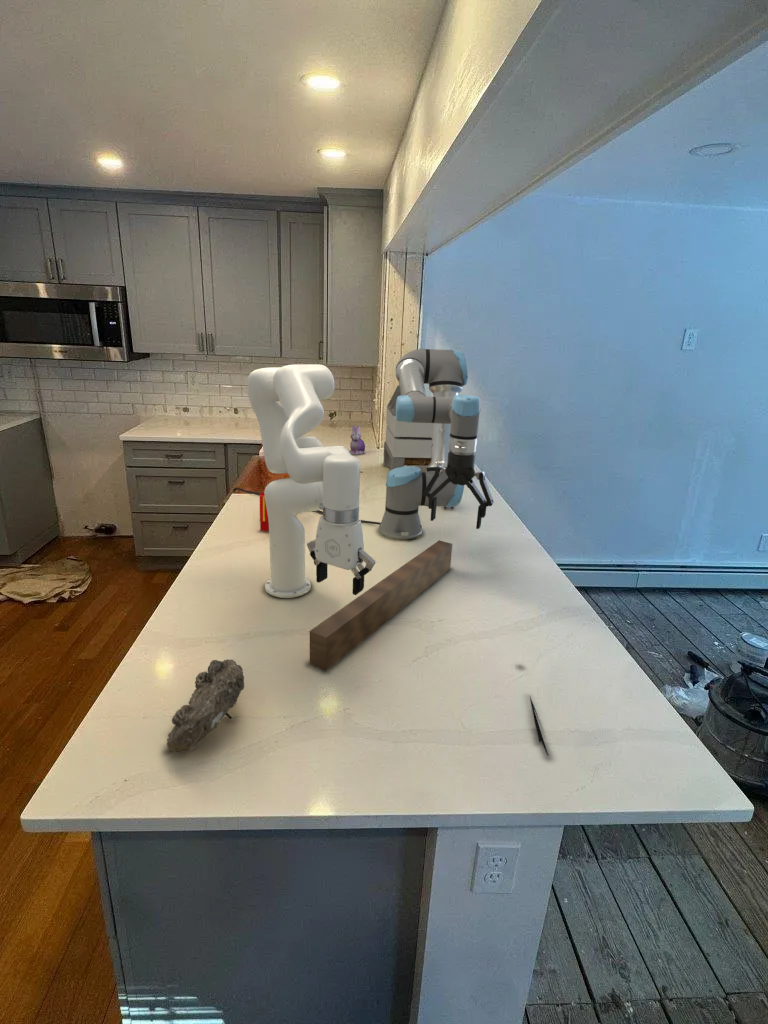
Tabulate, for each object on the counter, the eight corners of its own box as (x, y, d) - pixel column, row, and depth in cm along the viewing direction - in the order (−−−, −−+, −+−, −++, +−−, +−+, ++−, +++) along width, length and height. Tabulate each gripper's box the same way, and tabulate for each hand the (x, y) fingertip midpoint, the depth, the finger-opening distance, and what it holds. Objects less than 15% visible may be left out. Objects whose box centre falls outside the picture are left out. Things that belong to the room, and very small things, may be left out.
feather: (521, 671, 128) (526, 665, 127) (548, 760, 101) (555, 753, 101) (514, 667, 128) (520, 661, 127) (540, 755, 101) (547, 748, 101)
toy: (300, 481, 221) (289, 494, 192) (300, 514, 224) (289, 533, 194) (268, 480, 221) (253, 493, 191) (269, 514, 223) (254, 532, 194)
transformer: (382, 463, 289) (386, 382, 275) (445, 464, 293) (451, 384, 279) (390, 482, 257) (394, 392, 243) (460, 483, 261) (468, 394, 247)
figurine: (353, 455, 301) (353, 427, 296) (345, 451, 309) (345, 424, 304) (369, 454, 305) (370, 426, 300) (361, 450, 314) (361, 423, 308)
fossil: (192, 660, 117) (244, 628, 112) (224, 691, 120) (276, 661, 115) (142, 746, 98) (202, 712, 93) (182, 779, 101) (242, 748, 96)
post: (436, 565, 177) (439, 540, 174) (450, 569, 175) (452, 543, 172) (309, 664, 125) (309, 630, 122) (326, 671, 123) (326, 637, 120)
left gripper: (297, 509, 120) (298, 582, 126) (365, 527, 112) (362, 604, 118) (319, 500, 126) (318, 570, 132) (385, 517, 118) (381, 590, 124)
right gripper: (415, 449, 158) (410, 520, 166) (504, 461, 150) (495, 535, 157) (423, 443, 165) (418, 512, 172) (509, 455, 157) (500, 526, 164)
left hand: (339, 586), depth 125 cm, fingers open, 9 cm apart
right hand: (455, 523), depth 165 cm, fingers open, 13 cm apart
